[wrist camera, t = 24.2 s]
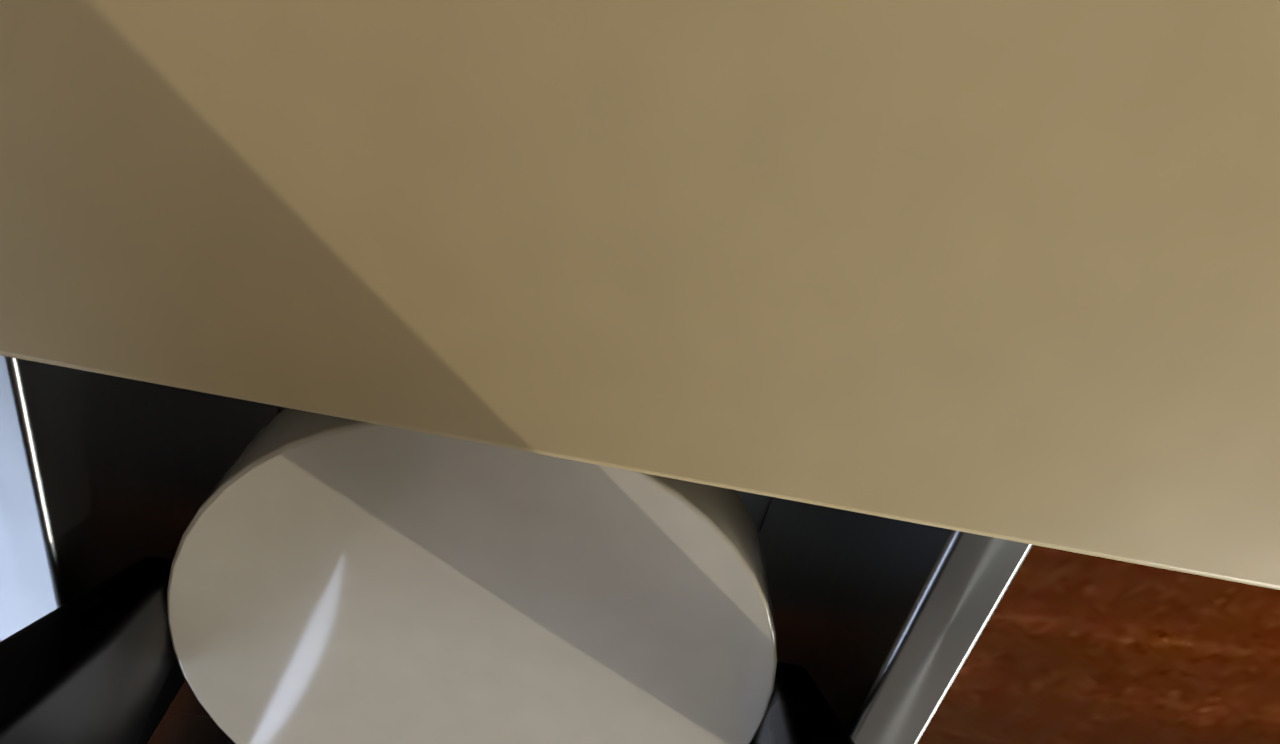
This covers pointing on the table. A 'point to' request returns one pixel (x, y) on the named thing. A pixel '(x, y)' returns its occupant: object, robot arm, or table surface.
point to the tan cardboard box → (693, 241)
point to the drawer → (222, 426)
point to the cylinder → (466, 596)
